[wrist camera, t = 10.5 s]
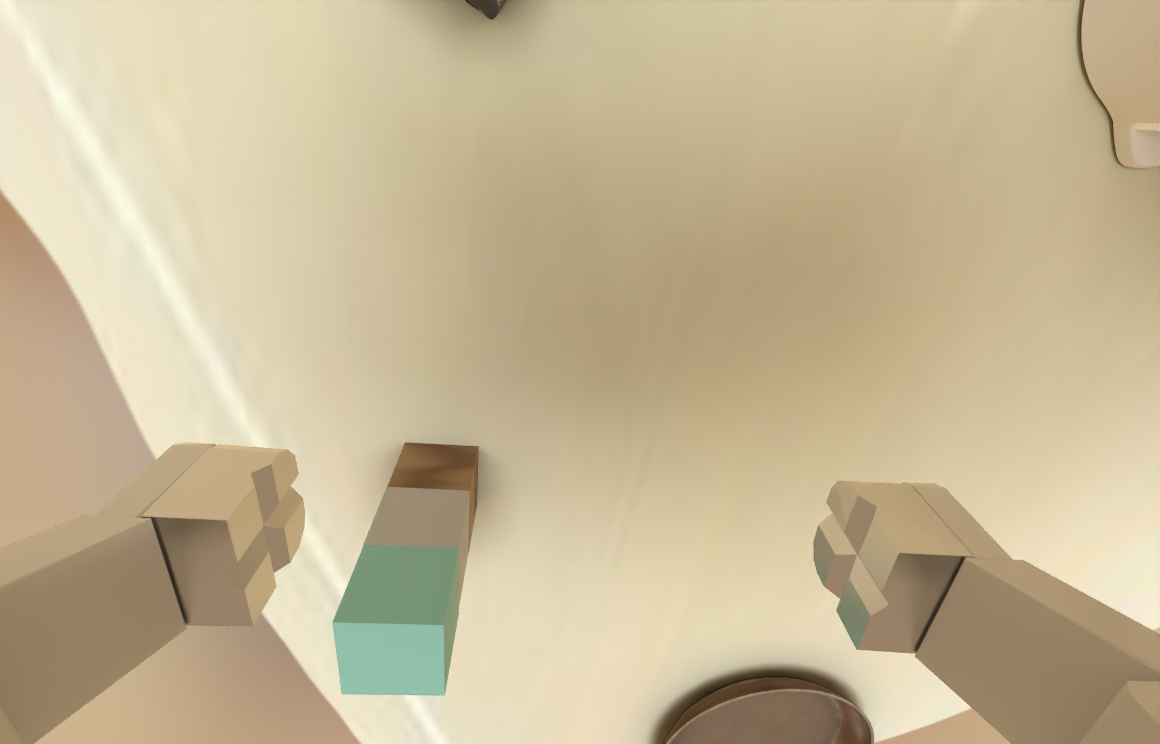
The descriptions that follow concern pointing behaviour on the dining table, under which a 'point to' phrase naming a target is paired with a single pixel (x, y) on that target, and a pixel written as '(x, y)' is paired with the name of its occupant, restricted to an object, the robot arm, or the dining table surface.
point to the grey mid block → (423, 521)
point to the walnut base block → (439, 470)
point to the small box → (487, 6)
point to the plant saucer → (772, 716)
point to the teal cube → (398, 621)
